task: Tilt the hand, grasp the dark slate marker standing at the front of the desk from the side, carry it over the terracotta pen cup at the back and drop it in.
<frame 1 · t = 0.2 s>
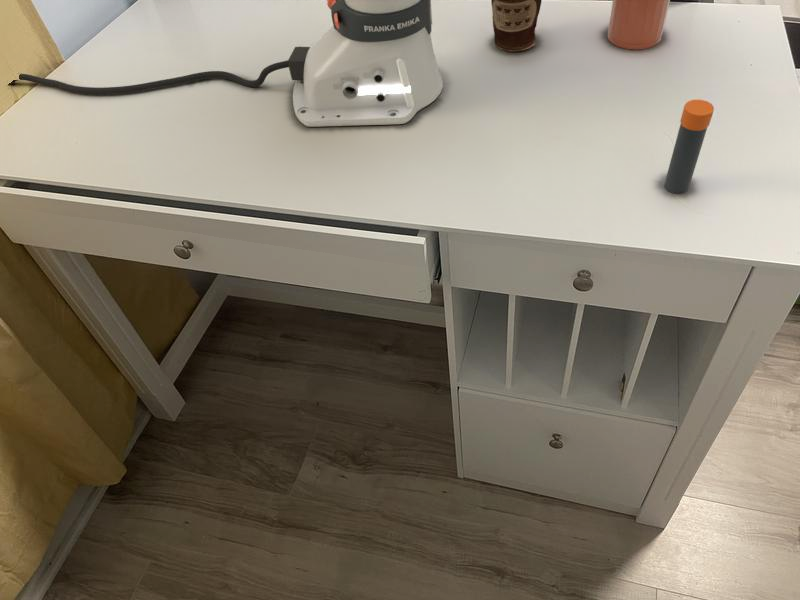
coffee cup: (515, 44, 105), on the table
marker: (676, 186, 80), on the table
pen cup: (634, 36, 103), on the table
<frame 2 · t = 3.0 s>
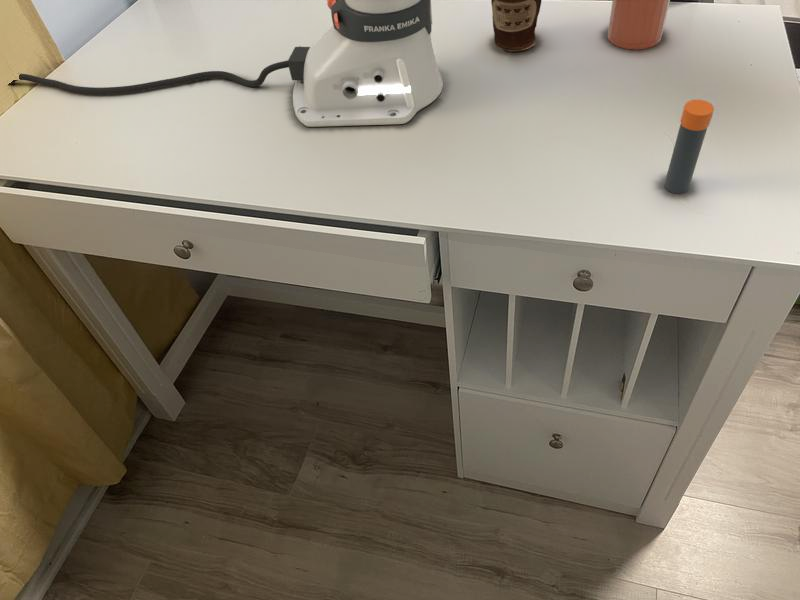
nothing on the table moved.
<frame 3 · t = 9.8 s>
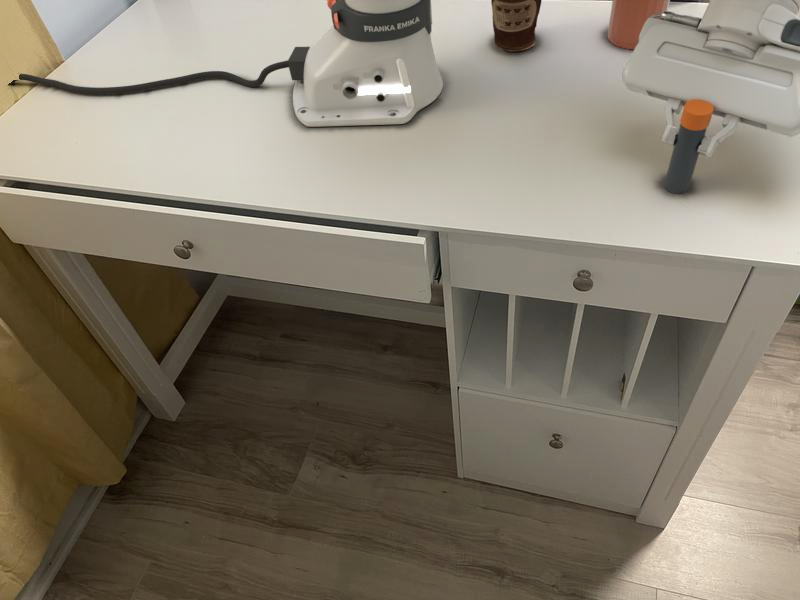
hand: (685, 149, 75), 6 cm above the table, tool tilted 45°, fingers closed on marker, 3 cm apart
marker: (676, 186, 80), on the table, touching gripper
everything else where it was.
when the fingers open (14 cm above the table, at t = 21.9 s): marker drops 7 cm, resting on pen cup.
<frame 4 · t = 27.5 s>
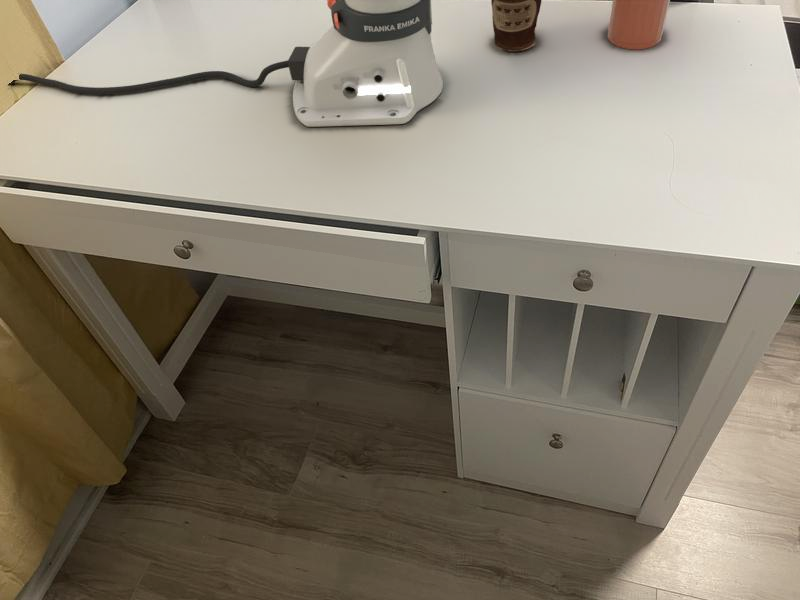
marker: (634, 31, 102), point 1 cm above the table, touching pen cup
everything else where it was.
at the end: marker inside the target area in the pen cup (0.0 cm from its centre), point 0.8 cm above the pen cup's base; the gripper is holding nothing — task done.
